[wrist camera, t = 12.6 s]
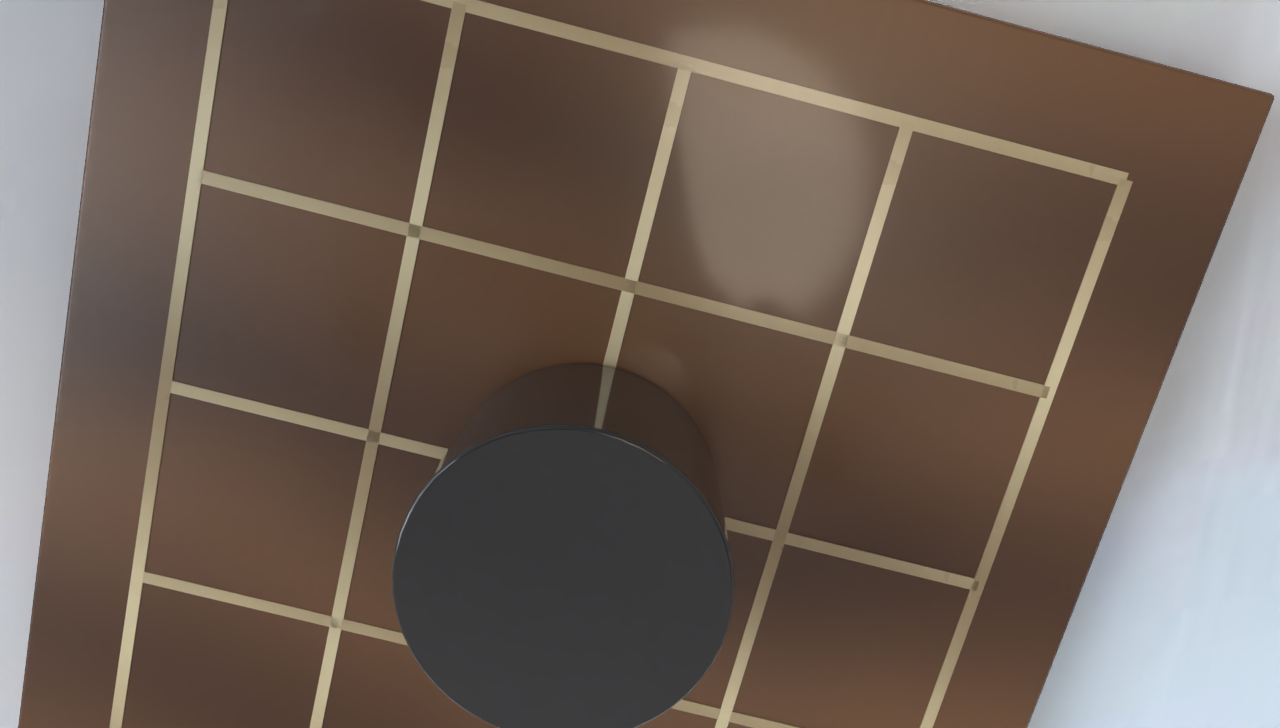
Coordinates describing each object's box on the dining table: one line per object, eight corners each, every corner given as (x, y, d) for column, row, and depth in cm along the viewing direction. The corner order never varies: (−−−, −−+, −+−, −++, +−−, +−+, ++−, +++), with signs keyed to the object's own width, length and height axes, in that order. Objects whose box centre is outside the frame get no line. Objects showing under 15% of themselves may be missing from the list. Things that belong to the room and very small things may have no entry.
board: (172, -187, 17) (127, -218, 16) (1227, 98, 18) (1278, 94, 16) (51, 762, 22) (6, 808, 20) (899, 957, 22) (916, 1015, 21)
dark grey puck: (391, 474, 18) (318, 565, 14) (600, 305, 17) (583, 354, 14) (566, 666, 19) (542, 800, 15) (773, 514, 18) (804, 615, 14)
